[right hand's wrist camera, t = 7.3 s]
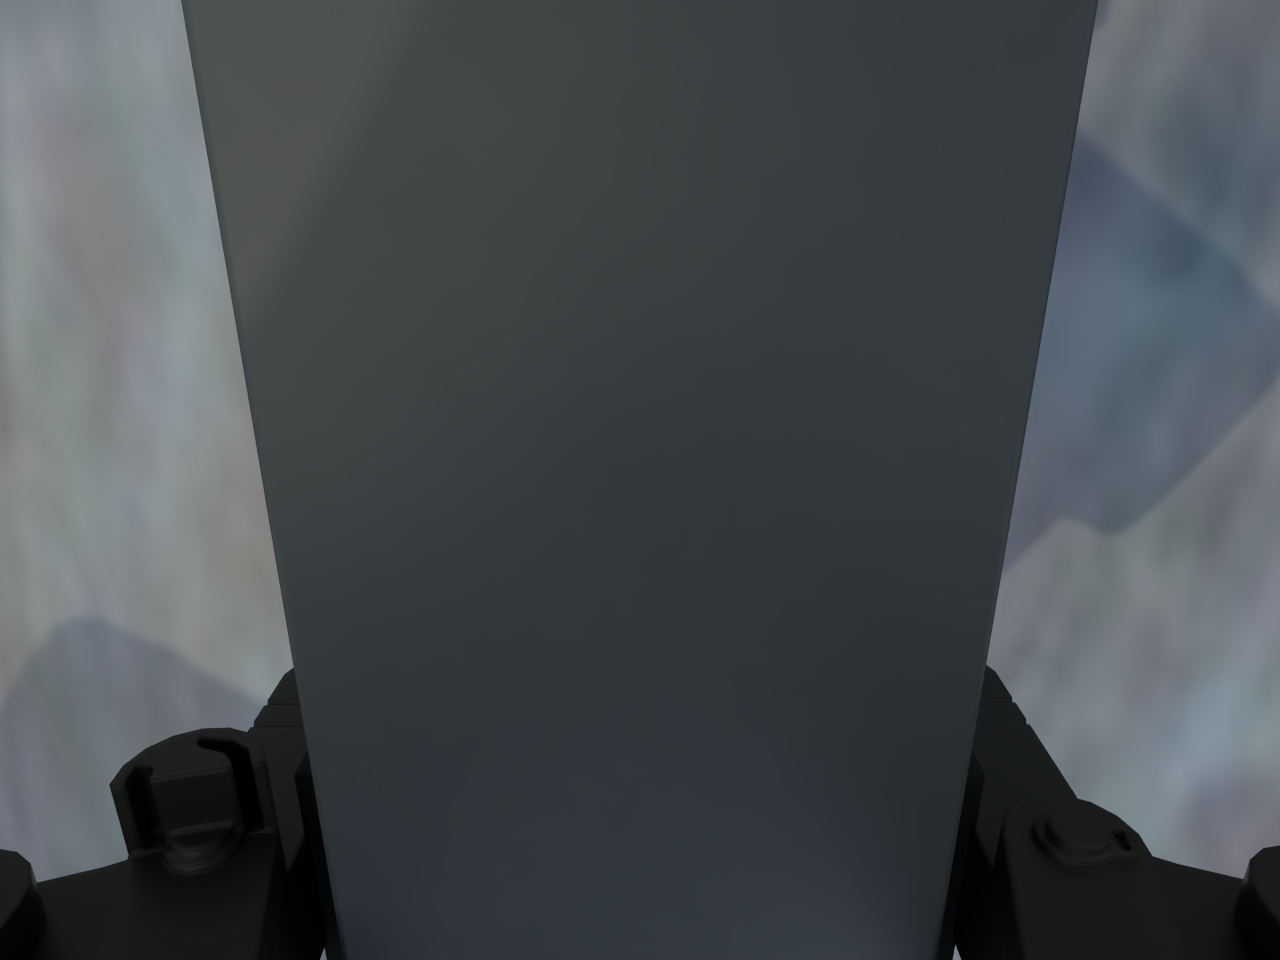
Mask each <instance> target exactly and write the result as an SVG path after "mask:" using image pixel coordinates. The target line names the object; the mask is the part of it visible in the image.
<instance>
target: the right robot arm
mask: <svg viewBox="0 0 1280 960" xmlns="http://www.w3.org/2000/svg"><path fill="white" fill-rule="evenodd" d="M110 789H111V792H112V796H113V799H114V803H115V807H116V810H117V814H118V818H119V821H120V825H121V829H122V832H123V836H124V840H125V843H126V847H127V850H128V854H129V856H128V859H127V860H125V861H122V862H119V863H115V864H112V865H109V866H106V867H102V868H98V869H94V870H90V871H85V872H81V873H77V874H73V875H68V876H64V877H60V878H55V879H51V880H47V881H43V882H38V883H37V882H36V879H35V876H34V873H33V870H32V867H31V864H30V863H29V862H28V861H27V860H26V859H25V858H23V857H22V856H21V855H20V854H19V853H18V852H14V851H8V850H2V849H0V960H320V958H321V955H322V952H323V950H324V947H325V952H326V957H327V960H343V955H342V949H341V943H340V937H339V932H338V926H337V920H336V914H335V908H334V902H333V896H332V890H331V884H330V878H329V872H328V866H327V860H326V855H325V849H324V843H323V837H322V831H321V825H320V819H319V813H318V807H317V801H316V795H315V789H314V783H313V777H312V772H311V766H310V760H309V754H308V748H307V742H306V736H305V730H304V724H303V718H302V712H301V706H300V700H299V695H298V689H297V683H296V677H295V671H294V668H292V669H291V670H290V671H288V672H287V673H286V674H284V676H283V677H282V679H281V681H280V682H279V684H278V685H277V687H276V688H275V690H274V691H273V693H272V695H271V696H270V698H269V699H268V705H267V706H264V707H263V709H262V710H261V712H260V713H259V715H258V716H257V718H256V719H255V721H254V727H250V729H249V730H248V732H244V731H240V730H236V729H232V728H206V729H199V730H195V731H191V732H187V733H183V734H179V735H175V736H172V737H170V738H168V739H166V740H163V741H161V742H159V743H157V744H155V745H153V746H150V747H148V748H146V749H145V750H143V751H142V752H141V753H139V754H138V755H137V756H135V757H134V758H133V759H131V760H130V761H129V762H127V763H126V764H125V765H123V767H122V768H121V769H120V771H119V772H118V774H117V775H116V776H115V778H114V779H113V780H112V782H111V783H110ZM955 944H956V947H957V950H958V952H959V955H960V957H961V960H1280V846H1274V847H1268V848H1263V849H1262V850H1261V851H1260V852H1258V853H1257V854H1256V855H1255V856H1254V857H1253V858H1251V859H1250V861H1249V864H1248V867H1247V871H1246V874H1245V877H1244V879H1240V878H1236V877H1231V876H1227V875H1223V874H1218V873H1214V872H1210V871H1206V870H1201V869H1197V868H1193V867H1188V866H1184V865H1180V864H1176V863H1173V862H1170V861H1166V860H1163V859H1160V858H1156V857H1153V856H1152V855H1151V853H1150V851H1149V850H1148V848H1147V847H1146V845H1145V843H1144V842H1143V840H1142V839H1141V837H1140V835H1139V834H1138V833H1137V832H1136V831H1134V830H1133V829H1132V828H1131V827H1130V826H1129V825H1127V824H1126V823H1125V822H1124V821H1123V820H1121V819H1120V818H1119V817H1118V816H1116V815H1114V814H1113V813H1111V812H1109V811H1107V810H1105V809H1103V808H1101V807H1099V806H1097V805H1095V804H1093V803H1091V802H1088V801H1084V800H1081V799H1078V798H1077V797H1076V795H1075V794H1074V792H1073V791H1072V789H1071V788H1070V786H1069V784H1068V783H1067V781H1066V780H1065V778H1064V777H1063V775H1062V774H1061V772H1060V771H1059V769H1058V767H1057V766H1056V764H1055V763H1054V761H1053V760H1052V758H1051V757H1050V755H1049V754H1048V752H1047V751H1046V749H1045V747H1044V746H1043V744H1042V743H1041V741H1040V740H1039V738H1038V737H1037V735H1036V734H1035V732H1034V730H1033V729H1032V727H1031V726H1030V724H1026V718H1025V717H1024V715H1023V714H1022V712H1021V710H1020V709H1019V707H1018V706H1017V704H1016V703H1013V702H1012V697H1011V695H1010V693H1009V692H1008V690H1007V689H1006V687H1005V686H1004V684H1003V683H1002V681H1001V680H1000V678H999V676H998V675H997V673H996V672H995V671H994V670H992V669H991V668H990V667H988V666H987V665H986V667H985V673H984V679H983V685H982V691H981V697H980V703H979V709H978V715H977V721H976V727H975V733H974V739H973V745H972V750H971V756H970V762H969V768H968V774H967V780H966V786H965V792H964V798H963V804H962V810H961V816H960V822H959V828H958V833H957V839H956V845H955V851H954V857H953V863H952V869H951V875H950V881H949V887H948V893H947V899H946V905H945V911H944V916H943V922H942V928H941V934H940V940H939V946H938V952H937V958H936V960H953V954H954V948H955Z"/></svg>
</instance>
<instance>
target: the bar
mask: <svg viewBox="0 0 1280 960" xmlns="http://www.w3.org/2000/svg"><path fill="white" fill-rule="evenodd" d="M181 1H182V7H183V13H184V19H185V25H186V31H187V37H188V43H189V49H190V55H191V61H192V67H193V72H194V78H195V84H196V90H197V96H198V102H199V108H200V114H201V120H202V126H203V132H204V138H205V144H206V149H207V155H208V161H209V167H210V173H211V179H212V185H213V191H214V197H215V203H216V209H217V215H218V221H219V227H220V232H221V238H222V244H223V250H224V256H225V262H226V268H227V274H228V280H229V286H230V292H231V298H232V304H233V309H234V315H235V321H236V327H237V333H238V339H239V345H240V351H241V357H242V363H243V369H244V375H245V381H246V386H247V392H248V398H249V404H250V410H251V416H252V422H253V428H254V434H255V440H256V446H257V452H258V458H259V463H260V469H261V475H262V481H263V487H264V493H265V499H266V505H267V511H268V517H269V523H270V529H271V535H272V541H273V546H274V552H275V558H276V564H277V570H278V576H279V582H280V588H281V594H282V600H283V606H284V612H285V618H286V623H287V629H288V635H289V641H290V647H291V653H292V659H293V665H294V671H295V677H296V683H297V689H298V695H299V700H300V706H301V712H302V718H303V724H304V730H305V736H306V742H307V748H308V754H309V760H310V766H311V772H312V777H313V783H314V789H315V795H316V801H317V807H318V813H319V819H320V825H321V831H322V837H323V843H324V849H325V855H326V860H327V866H328V872H329V878H330V884H331V890H332V896H333V902H334V908H335V914H336V920H337V926H338V932H339V937H340V943H341V949H342V955H343V960H936V958H937V952H938V946H939V940H940V934H941V928H942V922H943V916H944V911H945V905H946V899H947V893H948V887H949V881H950V875H951V869H952V863H953V857H954V851H955V845H956V839H957V833H958V828H959V822H960V816H961V810H962V804H963V798H964V792H965V786H966V780H967V774H968V768H969V762H970V756H971V750H972V745H973V739H974V733H975V727H976V721H977V715H978V709H979V703H980V697H981V691H982V685H983V679H984V673H985V667H986V662H987V656H988V650H989V644H990V638H991V632H992V626H993V620H994V614H995V608H996V602H997V596H998V590H999V584H1000V579H1001V573H1002V567H1003V561H1004V555H1005V549H1006V543H1007V537H1008V531H1009V525H1010V519H1011V513H1012V507H1013V501H1014V496H1015V490H1016V484H1017V478H1018V472H1019V466H1020V460H1021V454H1022V448H1023V442H1024V436H1025V430H1026V424H1027V418H1028V413H1029V407H1030V401H1031V395H1032V389H1033V383H1034V377H1035V371H1036V365H1037V359H1038V353H1039V347H1040V341H1041V335H1042V330H1043V324H1044V318H1045V312H1046V306H1047V300H1048V294H1049V288H1050V282H1051V276H1052V270H1053V264H1054V258H1055V252H1056V247H1057V241H1058V235H1059V229H1060V223H1061V217H1062V211H1063V205H1064V199H1065V193H1066V187H1067V181H1068V175H1069V169H1070V163H1071V158H1072V152H1073V146H1074V140H1075V134H1076V128H1077V122H1078V116H1079V110H1080V104H1081V98H1082V92H1083V86H1084V80H1085V75H1086V69H1087V63H1088V57H1089V51H1090V45H1091V39H1092V33H1093V27H1094V21H1095V15H1096V9H1097V3H1098V0H181Z"/></svg>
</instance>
